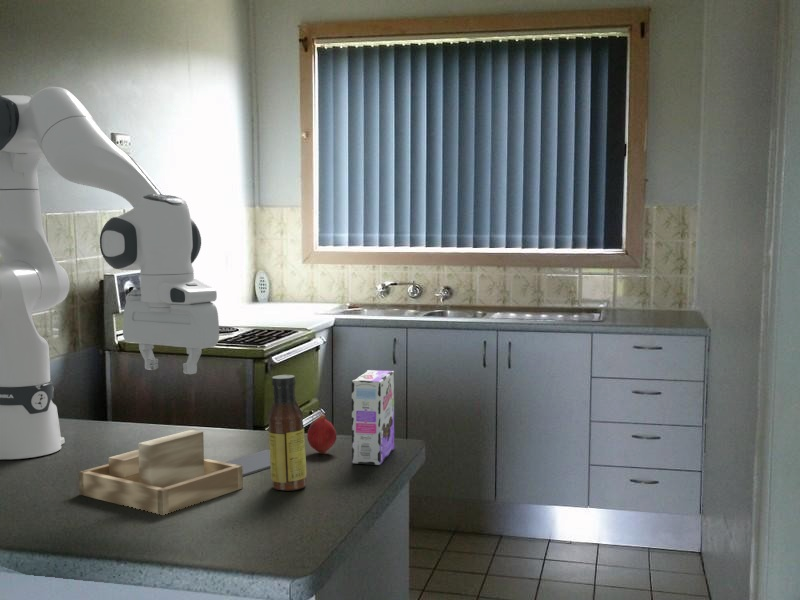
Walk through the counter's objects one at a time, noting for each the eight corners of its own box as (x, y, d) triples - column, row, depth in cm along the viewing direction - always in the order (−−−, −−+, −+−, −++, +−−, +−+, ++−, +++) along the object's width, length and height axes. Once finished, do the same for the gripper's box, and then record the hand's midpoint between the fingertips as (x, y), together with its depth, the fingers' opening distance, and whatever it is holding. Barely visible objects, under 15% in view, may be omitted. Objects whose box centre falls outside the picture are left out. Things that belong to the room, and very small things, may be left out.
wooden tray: (79, 494, 166) (78, 471, 165) (161, 470, 181) (160, 449, 180) (163, 515, 154) (162, 491, 154) (242, 488, 169) (242, 465, 169)
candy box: (380, 466, 184) (380, 381, 182) (350, 464, 185) (350, 380, 183) (395, 448, 197) (395, 369, 196) (367, 447, 198) (367, 368, 197)
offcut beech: (109, 474, 169) (108, 457, 169) (144, 464, 175) (143, 447, 175) (124, 477, 167) (124, 460, 166) (159, 467, 173) (158, 450, 173)
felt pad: (207, 469, 181) (207, 467, 181) (267, 451, 195) (267, 449, 195) (242, 476, 176) (242, 474, 176) (301, 457, 190) (301, 455, 190)
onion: (309, 457, 190) (308, 418, 189) (306, 450, 196) (305, 412, 195) (338, 456, 191) (337, 416, 190) (334, 449, 197) (334, 410, 196)
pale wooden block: (139, 501, 162) (138, 443, 161) (192, 484, 172) (191, 429, 171) (152, 504, 160) (150, 445, 159) (204, 487, 170) (203, 431, 169)
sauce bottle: (308, 482, 173) (306, 373, 171) (304, 492, 166) (303, 379, 165) (271, 482, 173) (269, 373, 171) (267, 492, 166) (265, 379, 165)
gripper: (112, 290, 166) (115, 369, 167) (196, 293, 154) (199, 378, 156) (140, 287, 171) (143, 364, 172) (223, 291, 160) (226, 373, 161)
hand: (170, 371), depth 164 cm, fingers open, 8 cm apart
